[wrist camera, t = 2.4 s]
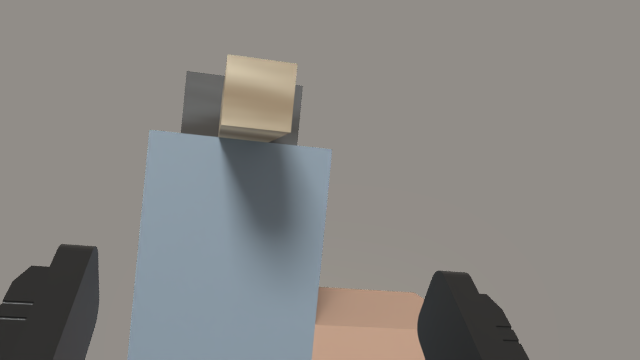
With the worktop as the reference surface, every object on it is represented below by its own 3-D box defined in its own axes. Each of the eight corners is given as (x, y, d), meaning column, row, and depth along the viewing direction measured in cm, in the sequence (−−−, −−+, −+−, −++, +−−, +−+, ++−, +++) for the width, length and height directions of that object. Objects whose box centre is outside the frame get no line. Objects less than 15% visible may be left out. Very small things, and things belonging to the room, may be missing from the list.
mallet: (346, 138, 25) (356, 37, 25) (160, 117, 23) (170, 10, 23) (285, 151, 45) (291, 96, 45) (184, 141, 44) (190, 84, 44)
